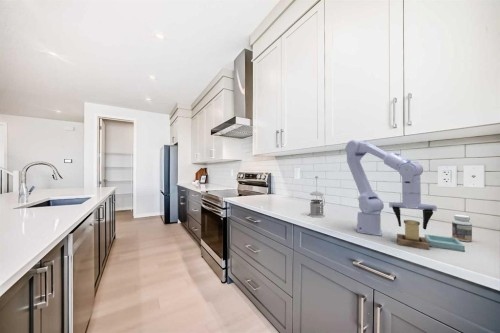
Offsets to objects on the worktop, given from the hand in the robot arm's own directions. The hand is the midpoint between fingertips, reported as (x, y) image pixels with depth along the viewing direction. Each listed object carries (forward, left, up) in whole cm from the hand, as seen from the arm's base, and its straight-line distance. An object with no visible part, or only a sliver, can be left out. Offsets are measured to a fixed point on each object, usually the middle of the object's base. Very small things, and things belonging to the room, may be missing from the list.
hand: (411, 227), depth 80 cm
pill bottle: (+18, +17, -7) cm, 26 cm away
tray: (+10, +5, -6) cm, 13 cm away
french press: (-44, +29, -7) cm, 53 cm away
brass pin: (0, 0, -7) cm, 7 cm away
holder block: (0, 0, -6) cm, 6 cm away
